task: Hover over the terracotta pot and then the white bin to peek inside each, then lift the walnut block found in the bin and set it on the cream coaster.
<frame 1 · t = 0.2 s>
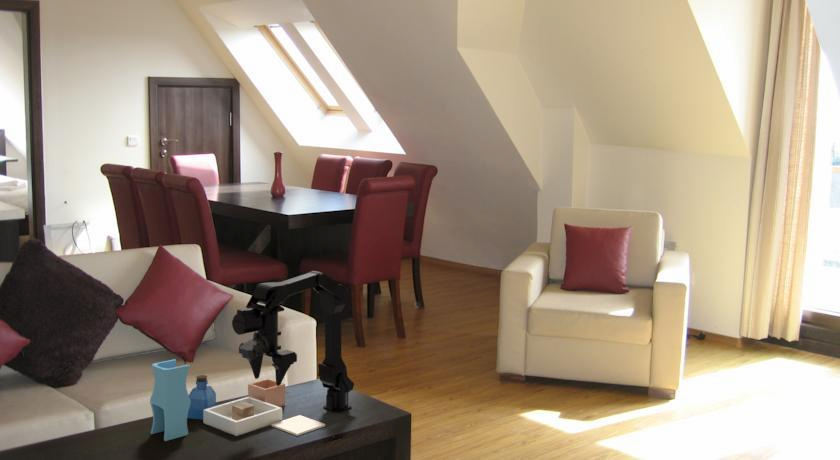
hand: (267, 381, 247), 14 cm above the table, fingers open, 9 cm apart
walnut block: (243, 412, 255), in the white bin
perfume bottle: (201, 416, 260), on the table
vase: (170, 434, 245), on the table
white bin: (243, 422, 256), on the table
terracotta pot: (266, 405, 270), on the table
cream coaster: (298, 426, 254), on the table
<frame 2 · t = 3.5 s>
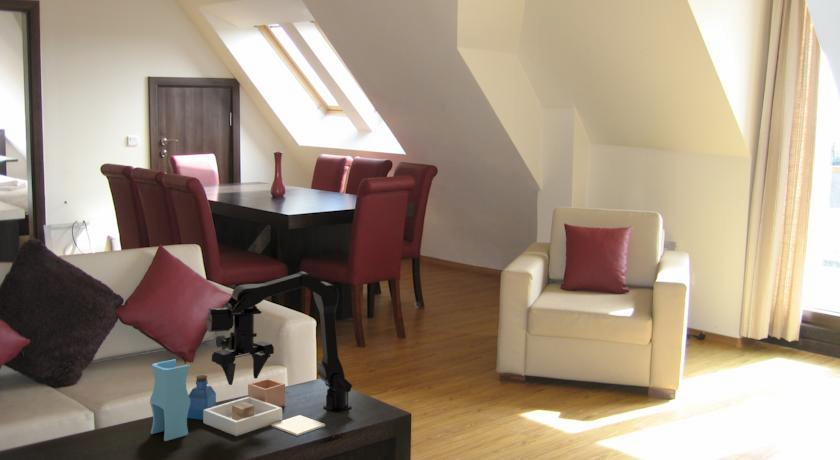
hand: (243, 381, 254), 12 cm above the table, fingers open, 9 cm apart
nothing on the table moved.
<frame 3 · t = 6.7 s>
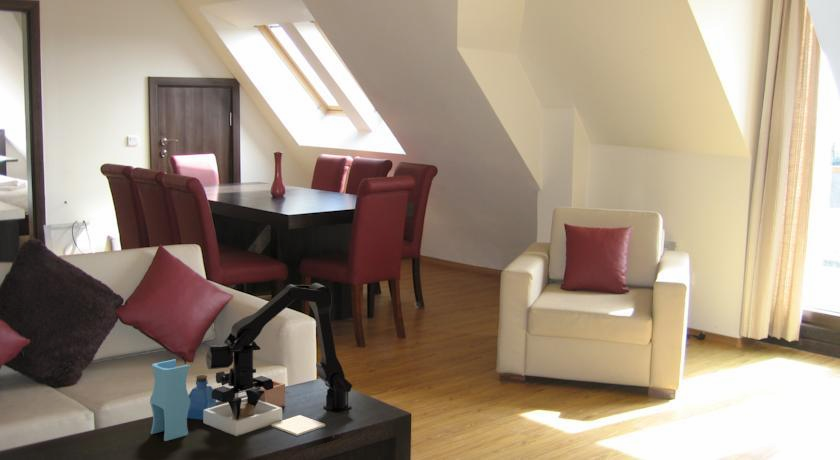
hand: (243, 417, 256), 2 cm above the table, fingers closed on walnut block, 4 cm apart
walnut block: (243, 412, 255), in the white bin, touching gripper
everything else where it was.
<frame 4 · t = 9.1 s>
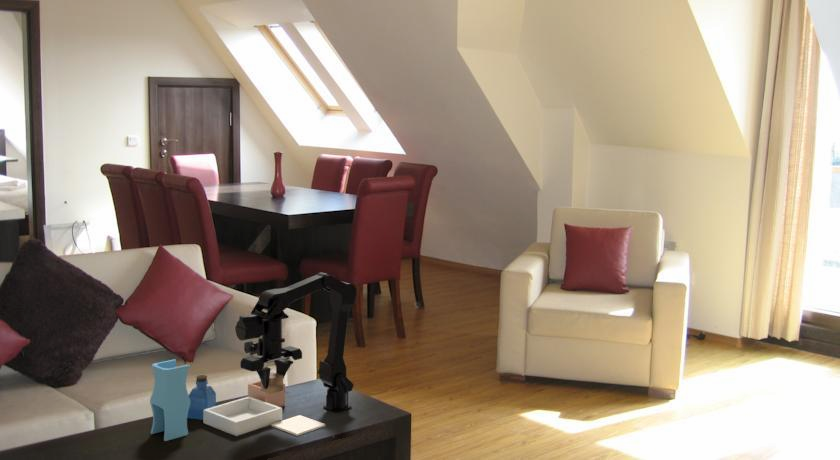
hand: (272, 387, 254), 11 cm above the table, fingers closed on walnut block, 4 cm apart
walnut block: (272, 382, 253), point 12 cm above the table, touching gripper
everything else where it was.
when the fingers open (3 cm above the table, at t = 11.7 s): walnut block drops 1 cm, resting on cream coaster.
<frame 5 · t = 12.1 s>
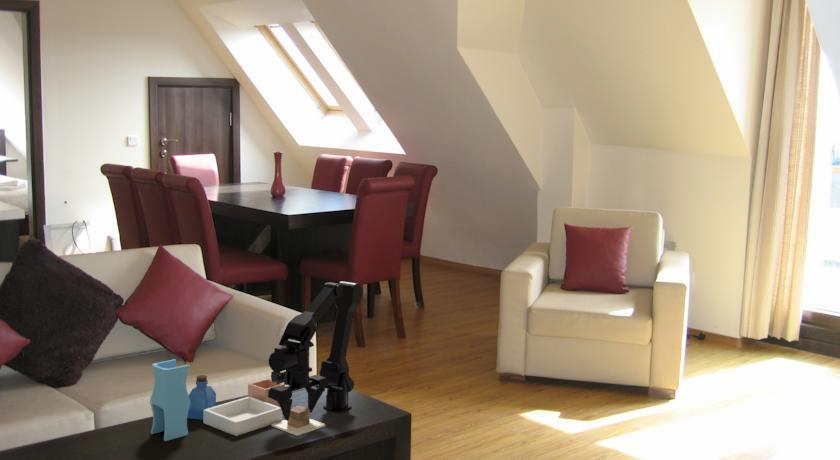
hand: (298, 416, 254), 3 cm above the table, fingers open, 9 cm apart
walnut block: (298, 416, 253), on the cream coaster, point 3 cm above the table
everything else where it was.
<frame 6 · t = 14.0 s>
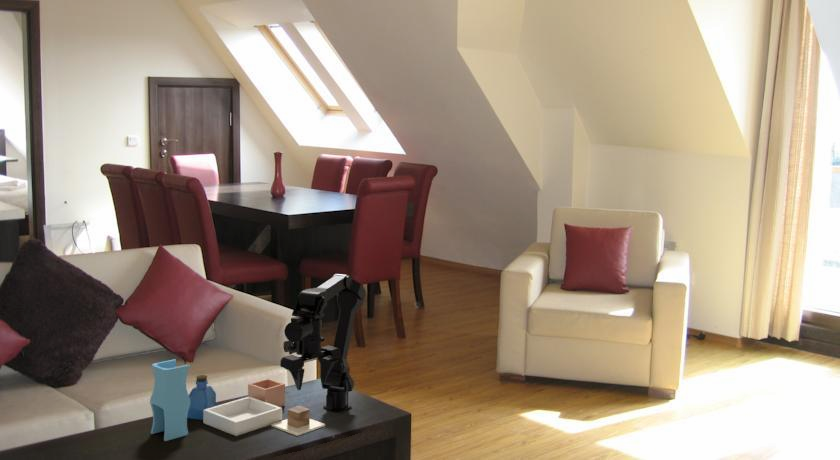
hand: (310, 386, 253), 12 cm above the table, fingers open, 9 cm apart
nothing on the table moved.
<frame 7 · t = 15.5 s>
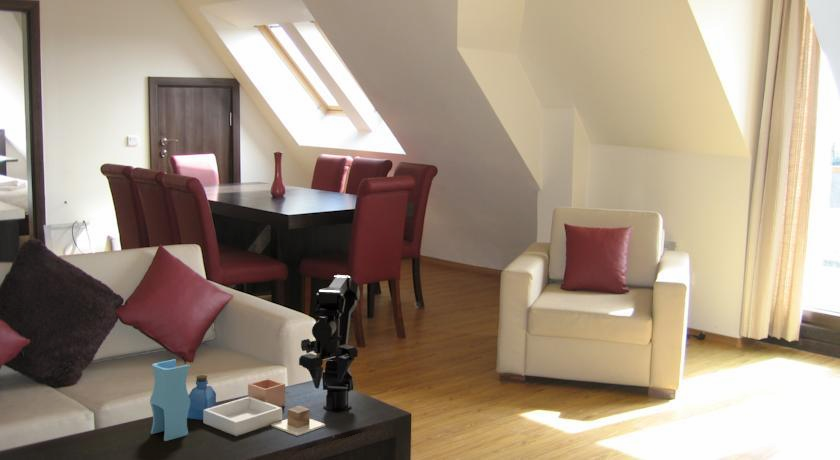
hand: (328, 384, 254), 12 cm above the table, fingers open, 9 cm apart
nothing on the table moved.
at the end: walnut block inside the target area on the cream coaster (0.0 cm from its centre), point 2.8 cm above the cream coaster's base; walnut block tilted 0°; the gripper is holding nothing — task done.
